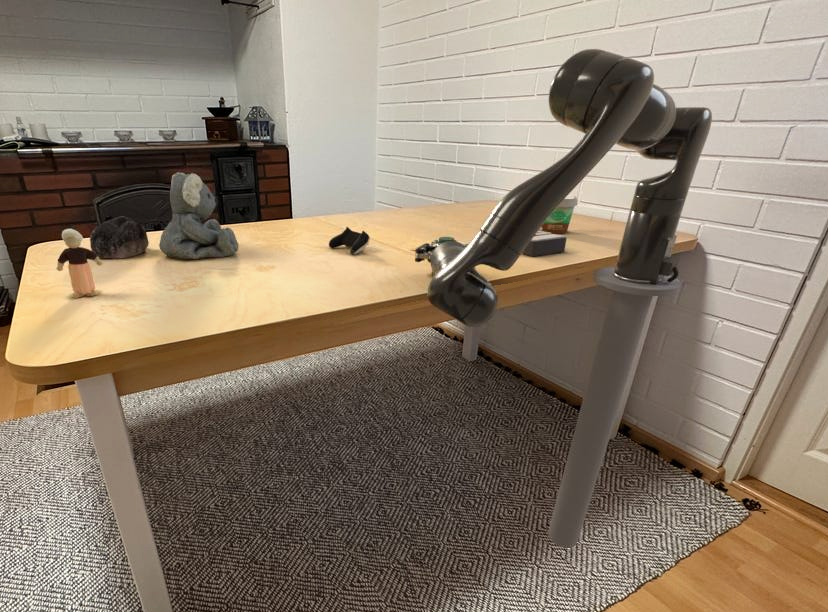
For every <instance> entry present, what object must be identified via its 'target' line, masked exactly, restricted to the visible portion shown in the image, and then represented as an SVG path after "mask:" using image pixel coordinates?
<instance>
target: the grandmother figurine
mask: <svg viewBox="0 0 828 612" xmlns="http://www.w3.org/2000/svg"><path fill="white" fill-rule="evenodd" d="M61 238H62V240H63V242H64V244H65V246H67V247H66V248H64V249H63V251H62V252H61V253H60V255H59V257H58V259H57V266H56V270H57V271H59V272H62V271H63V270H64V267H65V263H66V262H68V266H67V267H68V274H69V278H70V284H71V288H72V291H73V292H72V293H71V296H70V297H71V299H78V298H82V297H83V296H84V295H85V294H86V296H87V297H93V296H97V295H98V292H97V291H96V284H95V279H94V275H93V271H92V268H91V264H90V263H89V262H88V260H90V261H93V262H94V263H95V264H96V266H98V267H99V266H102V265H103V263H104V262H103V261H102V260H101V258H100V257H98V256H97V254H96V253H94V252H93V251H92V250H91V249H89V248H86V247H82V246H81V242H83V240H84V237H83V235H82V234H81V233H80V232H79V231H77V230H76V229H73V228H66V229H64V230H62V232H61ZM80 246H81V247H80Z"/></svg>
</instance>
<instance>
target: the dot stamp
mask: <svg viewBox="0 0 828 612" xmlns="http://www.w3.org/2000/svg"><path fill="white" fill-rule="evenodd" d="M454 240H455V238H454V237H451V236H440V237H438V242H439V244H442V243H444V242H447V241H454ZM431 276H432V277H433V273H432V272H431Z"/></svg>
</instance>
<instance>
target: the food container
mask: <svg viewBox="0 0 828 612" xmlns="http://www.w3.org/2000/svg"><path fill="white" fill-rule="evenodd" d="M578 201H579V200H578V196H575V195H574V196H573V198H565V199H564V200H563V201H562V202H561V203H560V204H559V205H558V206H557V208H556V209H555V210H554V211H553V212H552V213H551V215H550V216H549V217H548V218H547V220H546V221H545V222H544V223H543V225H542V226H541V227H540V229H539V230H538V231H544V232H550V233H552V234H556V235H565V234H567V233H568V229H569V226H570V223H571V219H572V215H573V214H574V210H575V207H577V206H578Z"/></svg>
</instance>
